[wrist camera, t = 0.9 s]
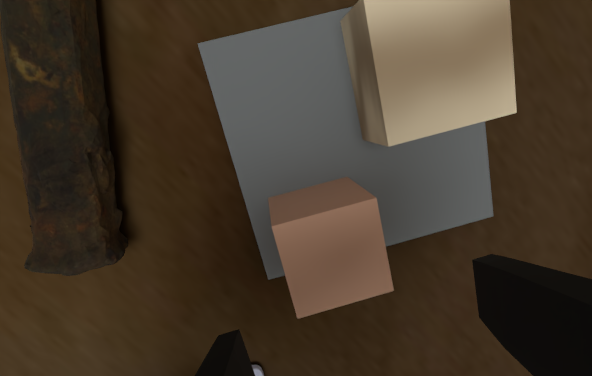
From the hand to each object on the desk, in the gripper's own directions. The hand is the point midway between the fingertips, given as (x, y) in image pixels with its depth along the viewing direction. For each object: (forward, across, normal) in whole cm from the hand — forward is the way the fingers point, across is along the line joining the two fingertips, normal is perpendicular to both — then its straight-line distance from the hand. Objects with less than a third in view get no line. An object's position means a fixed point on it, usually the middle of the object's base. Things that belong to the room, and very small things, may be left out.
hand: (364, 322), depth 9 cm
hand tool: (+10, +10, -11) cm, 18 cm away
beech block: (+9, -7, -7) cm, 13 cm away
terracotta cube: (+9, 0, 0) cm, 9 cm away
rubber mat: (+9, -4, -4) cm, 11 cm away
